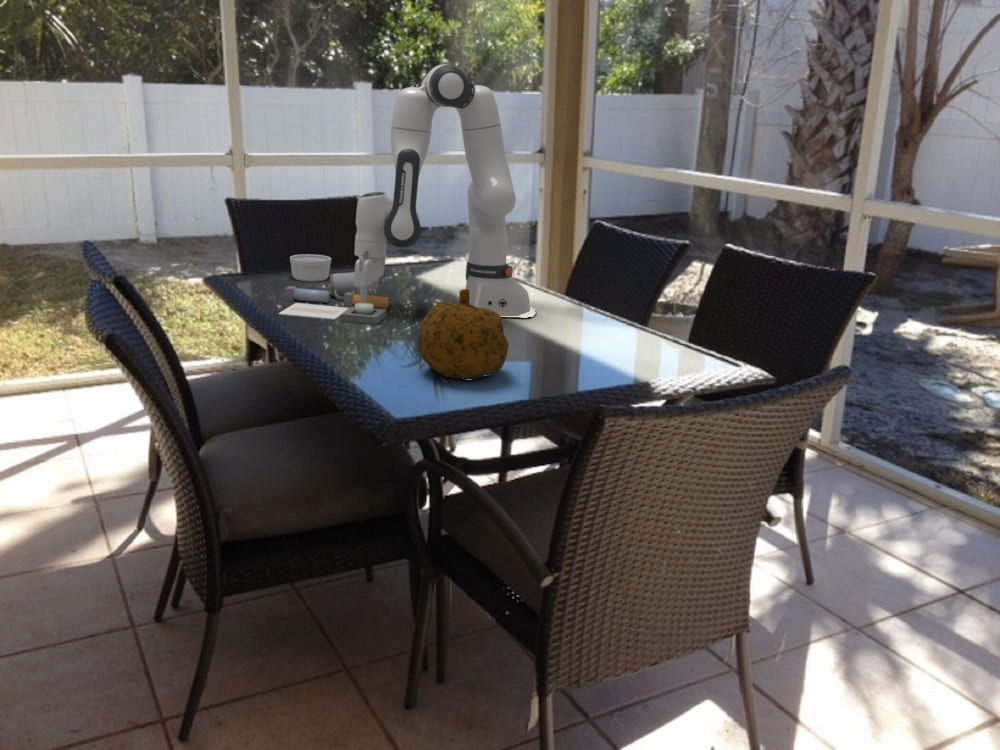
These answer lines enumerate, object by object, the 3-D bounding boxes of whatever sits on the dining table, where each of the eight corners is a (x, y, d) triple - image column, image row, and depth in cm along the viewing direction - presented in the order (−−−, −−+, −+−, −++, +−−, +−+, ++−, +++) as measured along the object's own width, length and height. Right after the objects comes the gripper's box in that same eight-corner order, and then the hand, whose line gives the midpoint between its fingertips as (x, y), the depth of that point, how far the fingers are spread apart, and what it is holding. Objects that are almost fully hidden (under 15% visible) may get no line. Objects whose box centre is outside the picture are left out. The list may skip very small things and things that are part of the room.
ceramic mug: (329, 293, 288) (329, 269, 286) (355, 293, 290) (355, 270, 288) (331, 301, 279) (332, 277, 277) (358, 302, 281) (359, 277, 279)
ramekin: (298, 273, 316) (298, 252, 314) (336, 276, 314) (336, 255, 312) (284, 280, 303) (283, 259, 301) (323, 284, 302) (323, 262, 300)
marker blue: (329, 301, 278) (329, 289, 277) (326, 304, 275) (326, 292, 274) (289, 297, 280) (289, 286, 278) (284, 300, 276) (284, 288, 275)
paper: (349, 308, 271) (349, 307, 271) (334, 319, 257) (334, 318, 257) (295, 303, 273) (295, 302, 272) (278, 314, 259) (278, 313, 259)
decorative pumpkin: (436, 387, 203) (441, 294, 199) (406, 368, 221) (410, 282, 217) (521, 385, 211) (528, 295, 207) (485, 366, 229) (490, 284, 226)
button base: (386, 316, 265) (386, 309, 264) (376, 324, 255) (377, 317, 255) (351, 313, 266) (351, 306, 265) (340, 321, 256) (341, 314, 256)
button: (375, 311, 262) (375, 303, 261) (370, 315, 257) (370, 307, 257) (357, 309, 263) (357, 302, 262) (352, 313, 258) (352, 305, 257)
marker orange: (388, 307, 275) (388, 295, 274) (385, 310, 272) (385, 298, 271) (347, 304, 277) (347, 292, 276) (343, 306, 273) (343, 294, 272)
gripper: (371, 256, 259) (369, 305, 263) (389, 245, 278) (387, 291, 282) (349, 254, 259) (347, 303, 263) (368, 243, 279) (366, 289, 283)
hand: (368, 297), depth 273 cm, fingers open, 8 cm apart
